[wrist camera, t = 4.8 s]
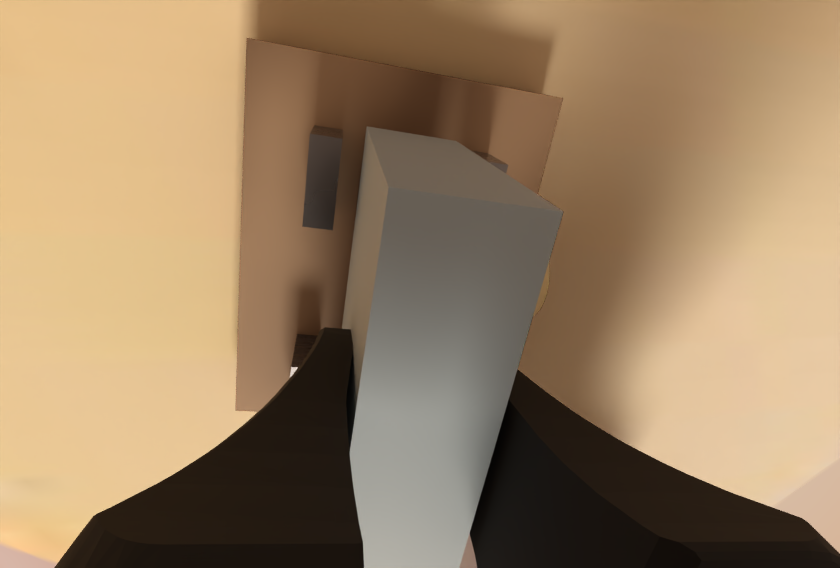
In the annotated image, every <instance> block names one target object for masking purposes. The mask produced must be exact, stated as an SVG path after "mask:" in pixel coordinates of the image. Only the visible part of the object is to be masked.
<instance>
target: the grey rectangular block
mask: <svg viewBox="0 0 840 568" xmlns="http://www.w3.org/2000/svg"><path fill="white" fill-rule="evenodd" d="M562 215H563V211H562V210H560V209H559V208H557V207H556V206H554V205H553V204H551V203H550V202H548V201H547V200H545V199H544V198H542V197H541V196H539V195H538V194H536V193H535V192H533V191H531V190H530V189H528V188H527V187H525V186H524V185H522V184H521V183H519V182H518V181H516V180H515V179H513V178H512V177H510V176H509V175H507V174H506V173H504V172H503V171H501V170H500V169H498V168H497V167H495V166H494V165H492V164H490V163H489V162H487V161H486V160H484V159H483V158H481V157H480V156H478V155H477V154H475V153H474V152H472V151H471V150H469V149H468V148H466V147H465V146H463V145H462V144H460V143H459V142H457V141H453V140H447V139H441V138H435V137H429V136H423V135H417V134H411V133H404V132H398V131H392V130H386V129H380V128H374V127H368V126H367V127H366V135H365V143H364V152H363V160H362V168H361V176H360V184H359V192H358V200H357V209H356V217H355V225H354V233H353V241H352V249H351V257H350V265H349V274H348V282H347V290H346V298H345V306H344V314H343V322H342V329H351V334H352V341H353V353H352V360H351V368H350V375H349V382H348V390H347V398H346V408H347V426H348V440H349V452H350V462H351V471H352V480H353V488H354V495H355V501H356V507H357V513H358V520H359V525H360V530H361V535H362V540H363V553H364V568H459V567H460V564H461V561H462V557H463V554H464V550H465V547H466V543H467V540H468V537H469V533H470V530H471V526H472V523H473V519H474V516H475V513H476V509H477V506H478V502H479V499H480V496H481V492H482V489H483V485H484V482H485V478H486V475H487V472H488V468H489V465H490V461H491V458H492V455H493V451H494V448H495V444H496V441H497V437H498V434H499V431H500V427H501V424H502V420H503V417H504V414H505V410H506V407H507V403H508V400H509V396H510V393H511V390H512V386H513V383H514V379H515V376H516V372H517V369H518V366H519V362H520V359H521V355H522V352H523V349H524V345H525V342H526V338H527V335H528V331H529V328H530V325H531V321H532V318H533V316H534V315H536V314H537V313H538V312H539V310H540V309H541V307H542V305H543V303H544V301H545V298H546V295H547V291H548V286H549V278H550V266H549V260H550V256H551V253H552V249H553V246H554V243H555V239H556V236H557V232H558V229H559V225H560V222H561V219H562Z"/></svg>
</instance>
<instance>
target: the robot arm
mask: <svg viewBox="0 0 840 568" xmlns="http://www.w3.org/2000/svg"><path fill="white" fill-rule="evenodd" d="M352 353H353V341H352V334H351V329H340V328H328V327H324V328H323V329H321V330H320V331H319V333H318V336H317V338H316V341H315V343H314V344H313V346H312V348H311V349H310V351H309V353H308V354H307V356H306V357H305V359H304V360H303V361H302V363H301V364H300V365H299V367H298V368H297V370H296V371H295V372H294V374H293V375H292V376H291V377H290V378H289V380H288V381H287V382H286V383H285V384H284V385H283V386H282V388H281V389H280V390H279V391H278V392H277V393H276V395H275V396H274V397H273V398H272V399H271V400H270V401H269V402H268V403H267V404H266V405H265V406H264V407H263V408H262V409H261V410H260V411H259V412H258V413H256V414H255V415H254V416H253V417H252V418H251V419H250V420H249V421H248V422H246V423H245V424H244V425H243V426H242V427H240V428H239V429H238V430H237V431H235V432H234V433H233V434H232V435H230V436H229V437H228V438H227V439H226V440H224V441H223V442H222V443H220V444H219V445H218V446H216V447H215V448H214V449H212V450H211V451H209V452H208V453H206V454H205V455H203V456H202V457H200V458H199V459H197V460H196V461H194V462H193V463H191V464H189V465H188V466H186V467H185V468H183V469H182V470H180V471H178V472H177V473H175V474H173V475H172V476H170V477H168V478H166V479H165V480H163V481H161V482H159V483H158V484H156V485H154V486H152V487H150V488H148V489H146V490H144V491H142V492H140V493H138V494H136V495H134V496H132V497H130V498H128V499H126V500H124V501H122V502H120V503H119V504H117V505H115V506H113V507H111V508H109V509H106V510H104V511H102V512H100V513H98V514H96V515H95V516H93V518H92V519H91V520H90V521H89V523H88V524H87V525H86V526H85V528H84V529H83V530H82V532H81V533H80V534H79V536H78V537H77V538H76V540H75V541H74V542H73V544H72V545H71V546H70V547H69V549H68V550H67V552H66V553H65V554H64V556H63V557H62V558H61V560H60V561H59V562H58V564H57V565H56V566H55V568H364V553H363V540H362V535H361V530H360V525H359V520H358V513H357V507H356V501H355V495H354V488H353V480H352V471H351V462H350V452H349V440H348V426H347V408H346V398H347V390H348V382H349V375H350V368H351V360H352ZM459 568H840V554H839V553H838V552H837V551H836V550H835V549H834V548H833V547H832V546H831V545H830V544H829V543H828V542H827V541H826V540H825V539H824V538H823V537H822V536H821V535H820V534H819V533H818V532H817V531H816V530H815V529H814V528H813V527H812V526H811V525H810V524H809V523H808V522H806V521H805V520H804V519H802V518H800V517H797V516H794V515H791V514H789V513H786V512H783V511H780V510H777V509H775V508H772V507H769V506H767V505H764V504H761V503H758V502H755V501H753V500H750V499H747V498H744V497H741V496H739V495H736V494H733V493H731V492H728V491H726V490H723V489H721V488H718V487H716V486H714V485H711V484H709V483H707V482H704V481H702V480H700V479H697V478H695V477H693V476H690V475H688V474H686V473H684V472H681V471H679V470H677V469H675V468H673V467H671V466H668V465H666V464H664V463H662V462H660V461H658V460H656V459H654V458H652V457H650V456H648V455H646V454H644V453H643V452H641V451H639V450H637V449H635V448H633V447H631V446H629V445H627V444H625V443H624V442H622V441H620V440H618V439H616V438H615V437H613V436H611V435H610V434H608V433H606V432H605V431H603V430H601V429H600V428H598V427H597V426H595V425H593V424H592V423H590V422H588V421H587V420H585V419H584V418H582V417H581V416H579V415H578V414H576V413H575V412H573V411H572V410H570V409H569V408H568V407H566V406H565V405H563V404H562V403H561V402H559V401H558V400H556V399H555V398H554V397H552V396H551V395H549V394H548V393H547V392H545V391H544V390H543V389H542V388H540V387H539V386H538V385H536V384H535V383H534V382H533V381H531V380H530V379H529V378H528V377H526V376H525V375H524V374H523V373H521V372H520V371H519V370H518V369H517V372H516V376H515V379H514V383H513V386H512V390H511V393H510V396H509V400H508V403H507V407H506V410H505V414H504V417H503V420H502V424H501V427H500V431H499V434H498V437H497V441H496V444H495V448H494V451H493V455H492V458H491V461H490V465H489V468H488V472H487V475H486V478H485V482H484V485H483V489H482V492H481V496H480V499H479V502H478V506H477V509H476V513H475V516H474V519H473V523H472V526H471V530H470V533H469V537H468V540H467V543H466V547H465V550H464V554H463V557H462V561H461V564H460V567H459Z"/></svg>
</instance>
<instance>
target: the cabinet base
mask: <svg viewBox="0 0 840 568" xmlns="http://www.w3.org/2000/svg"><path fill="white" fill-rule="evenodd" d="M562 101H563V98H559V97H553V96H548V95H543V94H538V93H533V92H527V91H522V90H517V89H512V88H506V87H501V86H496V85H491V84H485V83H480V82H475V81H470V80H465V79H459V78H454V77H449V76H444V75H438V74H433V73H428V72H423V71H417V70H412V69H407V68H402V67H397V66H391V65H386V64H381V63H376V62H370V61H365V60H360V59H355V58H349V57H344V56H339V55H334V54H329V53H323V52H318V51H313V50H308V49H302V48H297V47H292V46H287V45H281V44H276V43H271V42H266V41H261V40H255V39H250V38H247V47H246V80H245V113H244V146H243V179H242V212H241V245H240V278H239V311H238V344H237V377H236V410H235V411H255V412H259V411H260V410H261V409H262V408H263V407H264V406H265V405H266V404H267V403H268V402H269V401H270V400H271V399H272V398H273V397H274V396H275V395H276V393H277V392H278V391H279V390H280V389H281V388H282V386H283V385H284V384H285V383H286V382H287V381H288V380H289V378H290V373H291V364H292V359H293V353H294V348H295V343H296V337H297V334H304V335H317V336H318V333H319V331H320V330H321V329H323V328H324V327H328V328H340V329H342V322H343V314H344V306H345V298H346V290H347V282H348V274H349V265H350V257H351V249H352V241H353V233H354V225H355V217H356V209H357V200H358V192H359V184H360V176H361V168H362V160H363V152H364V143H365V135H366V127H367V126H368V127H374V128H380V129H386V130H392V131H398V132H404V133H411V134H417V135H423V136H429V137H435V138H441V139H447V140H453V141H457V142H459V143H460V144H462V145H463V146H465V147H466V148H468V149H469V150H471V151H478V152H484V153H489V154H491V155H492V156H494V157H496V158H497V159H499V160H501V161H502V162H504V163H506V164H508V169H507V173H506V174H507V175H509V176H510V177H512V178H513V179H515V180H516V181H518V182H519V183H521V184H522V185H524V186H525V187H527V188H528V189H530V190H531V191H533V192H535V193H536V194H538V191H539V187H540V183H541V179H542V176H543V172H544V168H545V164H546V161H547V157H548V153H549V149H550V146H551V142H552V138H553V134H554V131H555V127H556V123H557V119H558V116H559V112H560V108H561V104H562ZM314 125H317V126H323V127H329V128H335V129H342V130H343V139H342V148H341V158H340V167H339V177H338V186H337V196H336V205H335V215H334V224H333V230H326V229H318V228H309V227H302V224H303V212H304V199H305V187H306V175H307V162H308V150H309V137H310V132H311V131H312V129H313V127H314Z"/></svg>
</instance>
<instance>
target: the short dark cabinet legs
mask: <svg viewBox="0 0 840 568" xmlns="http://www.w3.org/2000/svg"><path fill="white" fill-rule="evenodd" d="M342 139H343V130H342V129H335V128H329V127H323V126H317V125H314V127H313V129H312V131H311V132H310V137H309V150H308V162H307V175H306V187H305V199H304V212H303V224H302V227H309V228H318V229H326V230H333V224H334V215H335V205H336V196H337V186H338V177H339V167H340V158H341V148H342ZM472 152H474V153H475V154H477V155H478V156H480V157H481V158H483V159H484V160H486V161H487V162H489V163H490V164H492V165H494V166H495V167H497V168H498V169H500V170H501V171H503V172H504V173H507V169H508V164H506V163H504V162H502V161H501V160H499V159H497V158H496V157H494V156H492V155H491V154H489V153H484V152H478V151H472ZM316 338H317V335H304V334H297V337H296V343H295V348H294V353H293V359H292V364H291V373H290V377H291V376H292V375H293V374H294V372H295V371H296V370H297V368H298V367H299V365H300V364H301V363H302V361H303V360H304V359H305V357H306V356H307V354H308V353H309V351H310V349H311V348H312V346H313V344H314V343H315V341H316Z"/></svg>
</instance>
